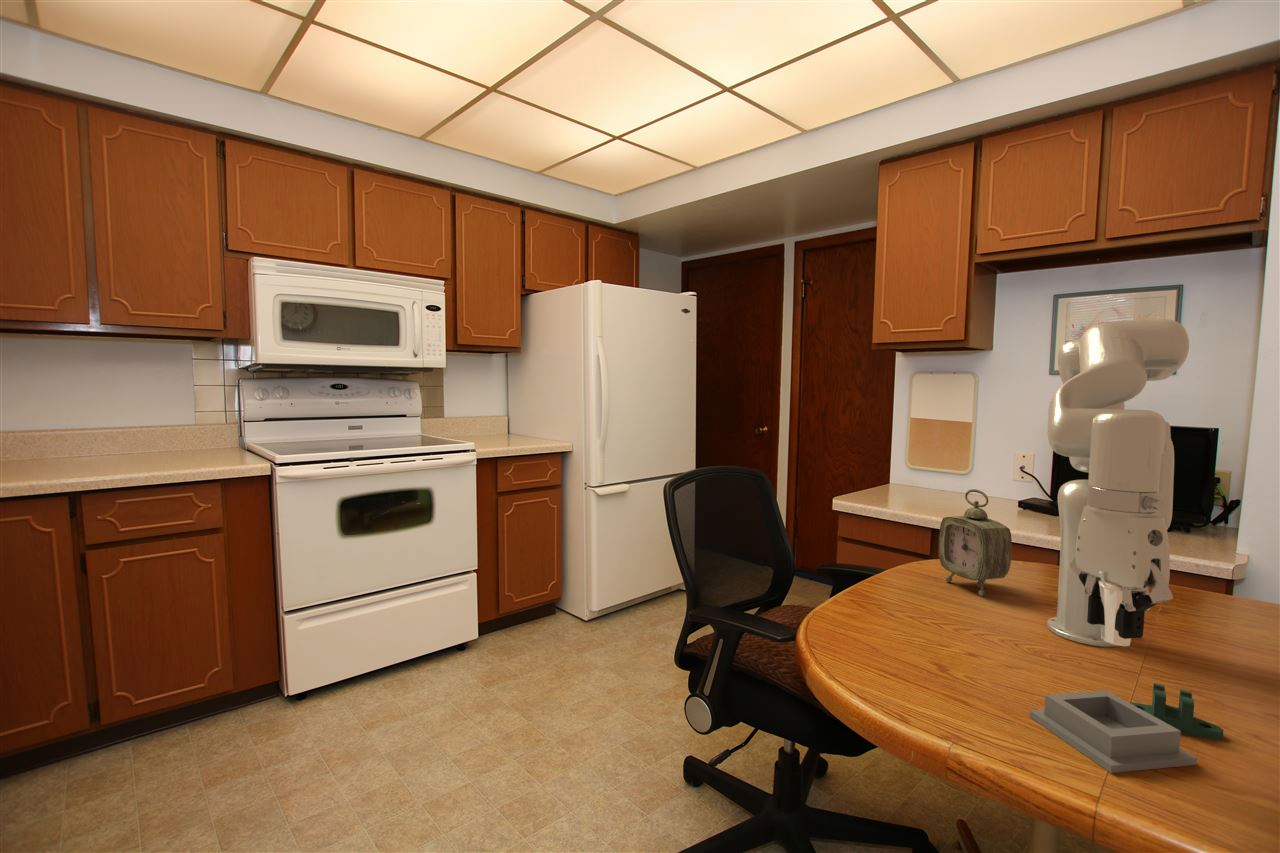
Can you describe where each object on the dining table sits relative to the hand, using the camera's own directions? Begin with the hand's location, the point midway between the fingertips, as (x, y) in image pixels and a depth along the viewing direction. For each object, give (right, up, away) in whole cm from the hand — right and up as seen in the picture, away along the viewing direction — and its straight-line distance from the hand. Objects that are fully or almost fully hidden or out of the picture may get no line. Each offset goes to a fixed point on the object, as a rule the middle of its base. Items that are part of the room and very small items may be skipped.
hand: (1114, 628), depth 81 cm
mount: (+13, -16, +5) cm, 21 cm away
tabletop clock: (+17, -12, +64) cm, 67 cm away
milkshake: (0, -2, 0) cm, 2 cm away
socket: (0, -16, +1) cm, 16 cm away
